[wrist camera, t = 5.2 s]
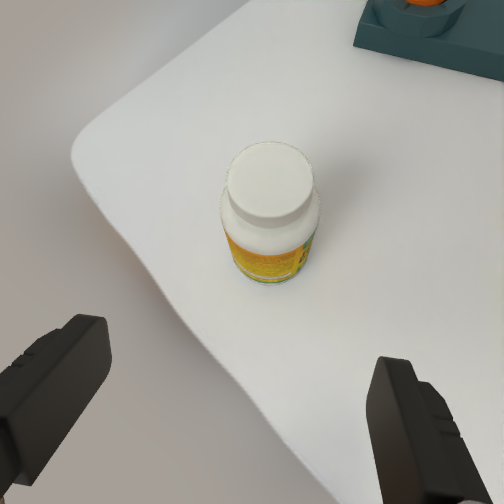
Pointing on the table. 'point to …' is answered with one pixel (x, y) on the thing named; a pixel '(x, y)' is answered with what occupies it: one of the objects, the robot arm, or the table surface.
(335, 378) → the table surface
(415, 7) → the teal button base
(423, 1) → the button
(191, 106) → the table surface
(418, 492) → the robot arm
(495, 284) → the table surface
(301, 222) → the supplement bottle
